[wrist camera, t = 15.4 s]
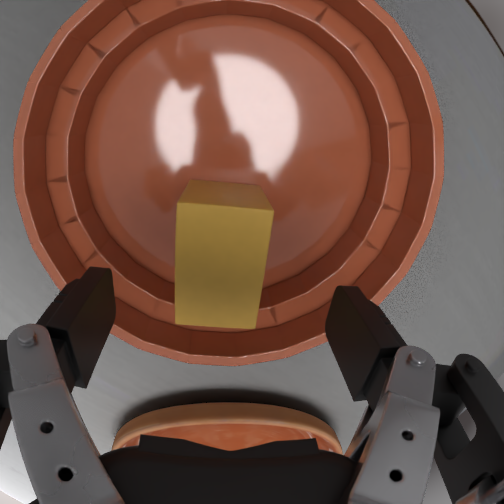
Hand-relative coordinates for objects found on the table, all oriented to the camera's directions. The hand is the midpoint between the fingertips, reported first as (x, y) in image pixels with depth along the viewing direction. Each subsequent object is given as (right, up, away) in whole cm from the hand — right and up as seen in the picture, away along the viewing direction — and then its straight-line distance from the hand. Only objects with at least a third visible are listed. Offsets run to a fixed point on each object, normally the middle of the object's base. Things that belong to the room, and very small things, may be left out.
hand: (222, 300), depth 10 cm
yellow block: (-1, +3, +6) cm, 6 cm away
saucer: (-2, -19, +16) cm, 25 cm away
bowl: (0, +7, +5) cm, 8 cm away
